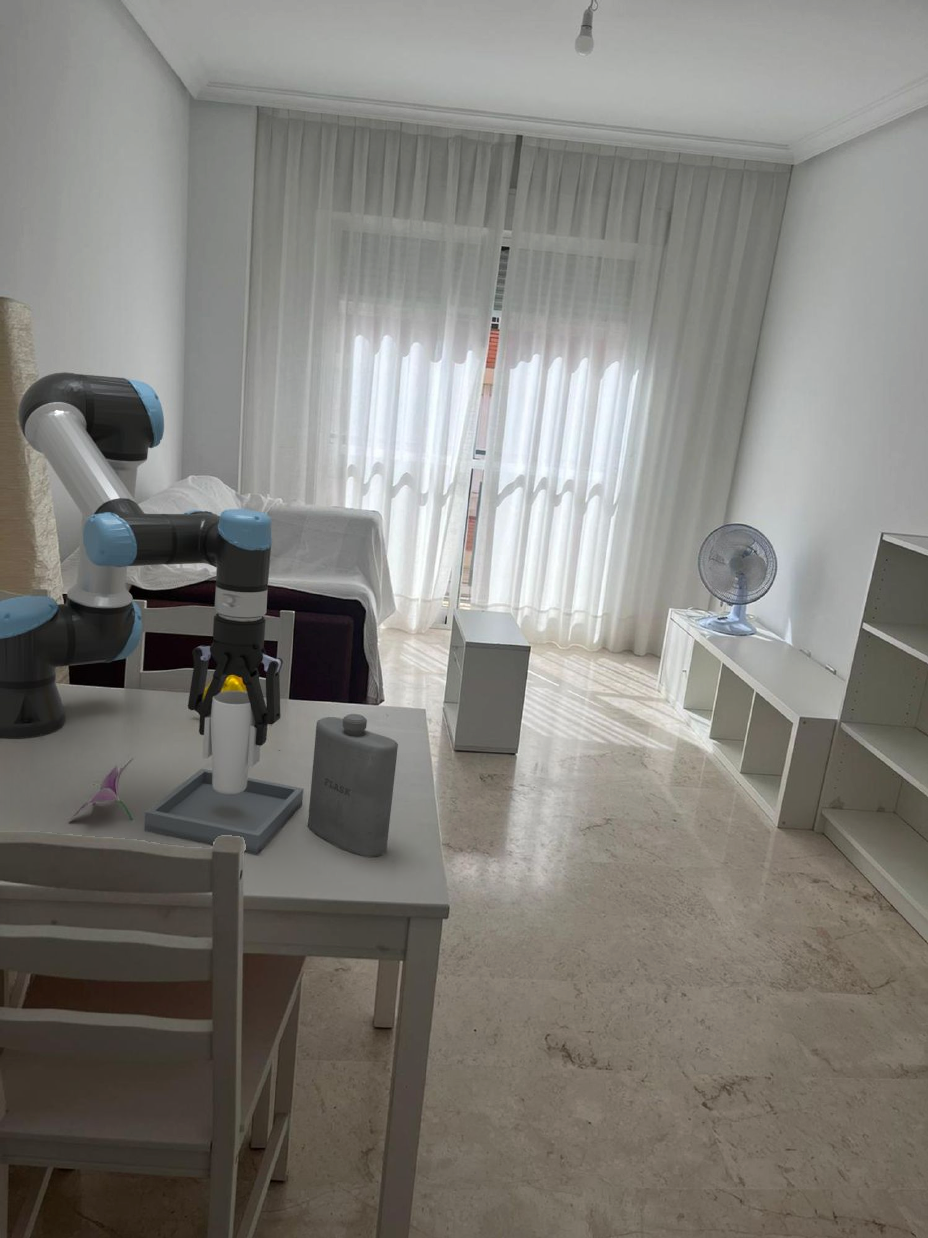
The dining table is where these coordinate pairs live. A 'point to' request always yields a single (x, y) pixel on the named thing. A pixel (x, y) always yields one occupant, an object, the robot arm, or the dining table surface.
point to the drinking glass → (230, 741)
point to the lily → (108, 789)
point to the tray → (224, 811)
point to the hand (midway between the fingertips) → (231, 759)
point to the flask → (352, 785)
